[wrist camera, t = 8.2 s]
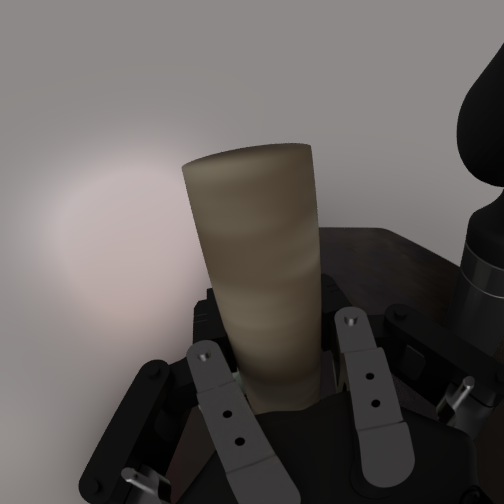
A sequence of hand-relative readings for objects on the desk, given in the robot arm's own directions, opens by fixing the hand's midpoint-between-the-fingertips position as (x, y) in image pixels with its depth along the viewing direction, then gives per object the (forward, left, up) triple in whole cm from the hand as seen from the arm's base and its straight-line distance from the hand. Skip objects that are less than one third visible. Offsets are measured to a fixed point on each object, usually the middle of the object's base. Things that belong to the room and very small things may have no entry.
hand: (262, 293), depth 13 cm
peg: (+2, +2, -9) cm, 9 cm away
